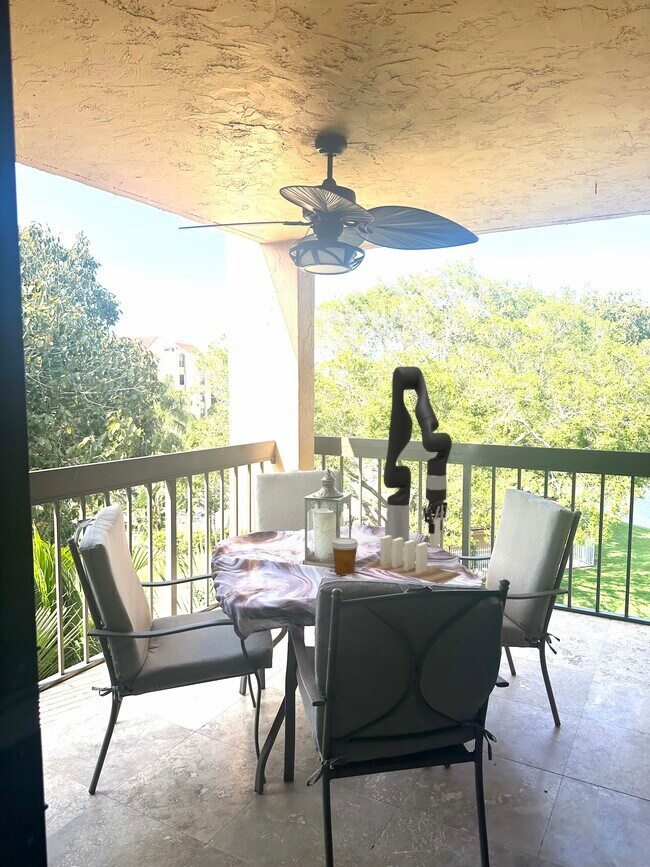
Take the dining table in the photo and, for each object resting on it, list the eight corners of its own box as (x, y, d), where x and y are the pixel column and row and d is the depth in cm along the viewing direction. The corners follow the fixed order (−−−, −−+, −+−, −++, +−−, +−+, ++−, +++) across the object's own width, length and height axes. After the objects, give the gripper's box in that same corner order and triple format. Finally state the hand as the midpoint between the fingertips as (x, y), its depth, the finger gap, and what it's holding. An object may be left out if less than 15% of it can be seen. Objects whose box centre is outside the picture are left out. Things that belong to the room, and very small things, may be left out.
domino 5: (429, 545, 210) (430, 519, 209) (436, 542, 214) (436, 516, 213) (433, 546, 209) (434, 520, 208) (440, 543, 213) (440, 517, 212)
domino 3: (403, 570, 203) (403, 542, 202) (410, 566, 206) (411, 539, 206) (407, 571, 202) (407, 543, 201) (414, 567, 205) (415, 540, 205)
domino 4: (415, 573, 199) (415, 545, 199) (422, 569, 203) (423, 542, 202) (419, 573, 198) (419, 545, 198) (426, 570, 202) (427, 542, 201)
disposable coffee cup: (362, 571, 204) (362, 538, 203) (352, 579, 195) (352, 545, 194) (337, 568, 208) (337, 536, 207) (326, 576, 199) (326, 542, 198)
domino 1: (380, 564, 209) (380, 537, 208) (387, 561, 213) (388, 535, 212) (383, 565, 208) (384, 538, 207) (391, 562, 212) (391, 535, 211)
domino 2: (391, 567, 206) (391, 540, 205) (399, 564, 210) (399, 537, 209) (395, 568, 205) (395, 540, 204) (402, 564, 209) (403, 538, 208)
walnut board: (363, 567, 208) (363, 565, 208) (385, 559, 219) (385, 556, 219) (441, 587, 188) (441, 584, 188) (461, 576, 198) (461, 573, 198)
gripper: (436, 482, 218) (435, 526, 219) (417, 488, 207) (416, 534, 208) (454, 485, 213) (453, 529, 214) (435, 491, 202) (434, 537, 203)
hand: (435, 531), depth 211 cm, fingers closed on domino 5, 5 cm apart
